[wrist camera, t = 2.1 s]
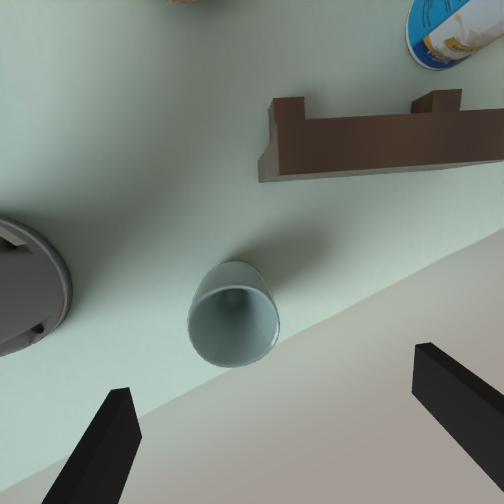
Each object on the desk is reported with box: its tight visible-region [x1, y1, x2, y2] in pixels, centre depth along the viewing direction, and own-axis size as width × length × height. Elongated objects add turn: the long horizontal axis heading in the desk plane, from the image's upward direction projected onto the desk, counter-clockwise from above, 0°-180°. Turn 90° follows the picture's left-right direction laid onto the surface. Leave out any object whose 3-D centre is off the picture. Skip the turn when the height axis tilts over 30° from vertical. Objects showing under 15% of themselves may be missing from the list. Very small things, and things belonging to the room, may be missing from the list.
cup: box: [187, 261, 280, 368], centre depth 24 cm, size 8×8×10 cm
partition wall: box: [258, 89, 504, 183], centre depth 20 cm, size 23×8×13 cm, turn 94°
